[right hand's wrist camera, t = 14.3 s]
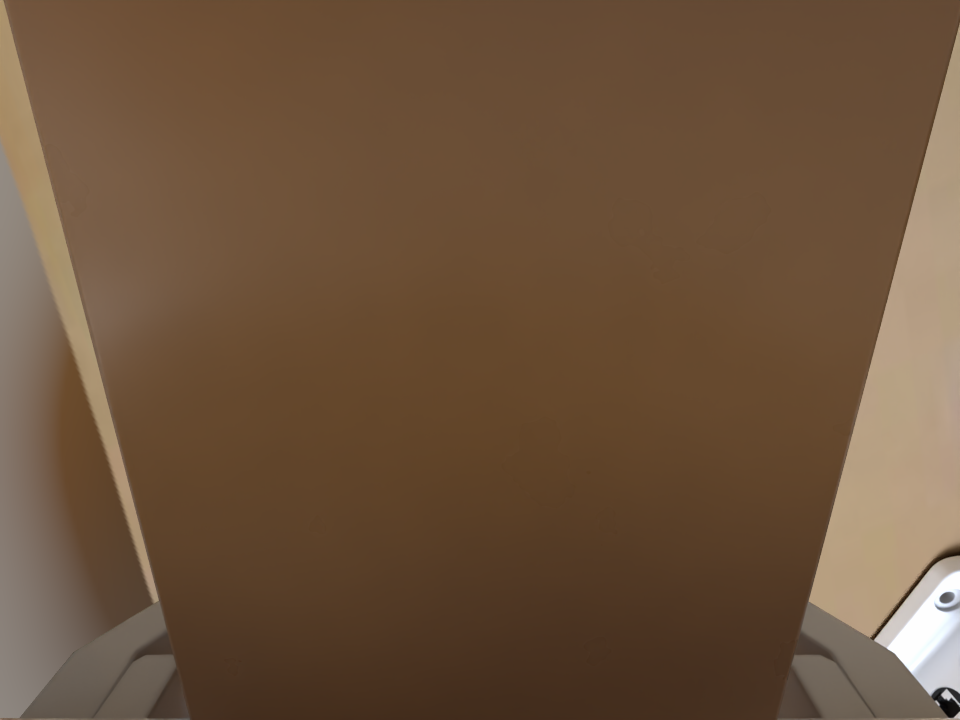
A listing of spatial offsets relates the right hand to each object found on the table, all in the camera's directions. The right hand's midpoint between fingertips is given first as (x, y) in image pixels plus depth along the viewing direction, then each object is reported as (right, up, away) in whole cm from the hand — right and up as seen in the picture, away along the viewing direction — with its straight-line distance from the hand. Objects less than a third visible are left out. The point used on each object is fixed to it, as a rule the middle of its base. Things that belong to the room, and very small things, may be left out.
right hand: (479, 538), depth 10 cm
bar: (0, +9, 0) cm, 9 cm away
